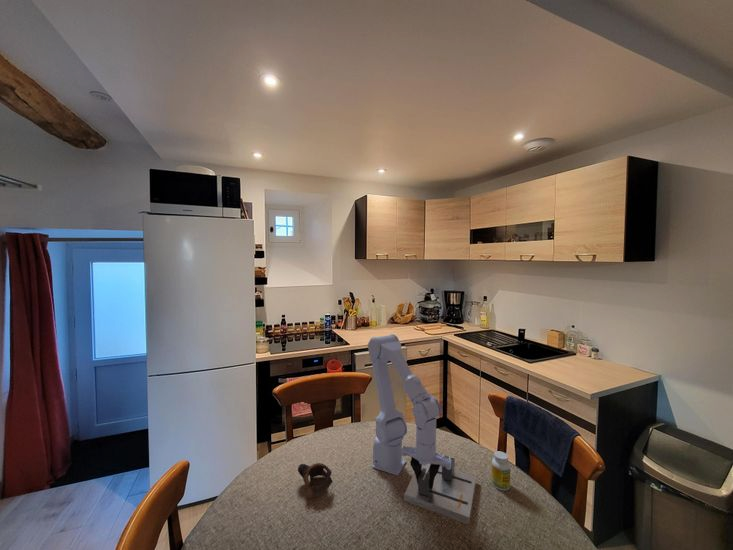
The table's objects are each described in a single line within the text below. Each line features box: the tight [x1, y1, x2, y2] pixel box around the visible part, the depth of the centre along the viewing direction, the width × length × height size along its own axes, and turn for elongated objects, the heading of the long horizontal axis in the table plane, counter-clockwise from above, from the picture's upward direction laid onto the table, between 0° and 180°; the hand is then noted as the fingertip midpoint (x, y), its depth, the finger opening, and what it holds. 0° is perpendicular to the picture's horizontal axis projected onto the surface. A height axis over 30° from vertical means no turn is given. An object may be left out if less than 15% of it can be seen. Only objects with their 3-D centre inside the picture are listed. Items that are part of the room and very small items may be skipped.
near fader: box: [418, 468, 431, 496], centre depth 88 cm, size 3×5×4 cm, turn 154°
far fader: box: [442, 455, 456, 481], centre depth 94 cm, size 3×5×4 cm, turn 154°
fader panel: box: [403, 464, 477, 525], centre depth 90 cm, size 18×17×2 cm
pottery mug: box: [297, 462, 333, 499], centre depth 91 cm, size 12×10×8 cm
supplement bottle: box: [491, 450, 511, 491], centre depth 92 cm, size 5×5×10 cm
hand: (425, 484), depth 88 cm, fingers closed on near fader, 3 cm apart
